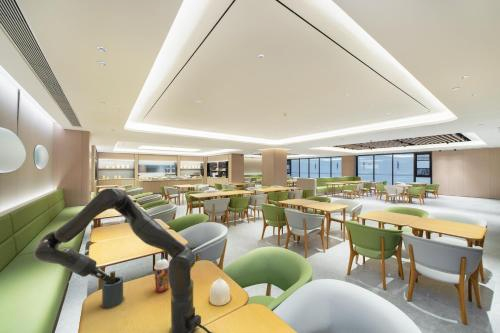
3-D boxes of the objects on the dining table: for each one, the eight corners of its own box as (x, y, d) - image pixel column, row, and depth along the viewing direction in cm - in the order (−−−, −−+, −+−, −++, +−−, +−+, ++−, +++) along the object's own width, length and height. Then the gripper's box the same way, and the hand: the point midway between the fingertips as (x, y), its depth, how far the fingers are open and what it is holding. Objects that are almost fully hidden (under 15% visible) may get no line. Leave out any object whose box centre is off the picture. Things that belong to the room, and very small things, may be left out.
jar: (126, 300, 111) (126, 279, 111) (107, 310, 103) (107, 287, 103) (118, 295, 116) (117, 274, 116) (99, 303, 108) (99, 282, 109)
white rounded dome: (233, 301, 110) (233, 278, 110) (213, 308, 105) (213, 283, 105) (225, 290, 120) (225, 269, 120) (206, 296, 115) (206, 273, 115)
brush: (119, 300, 110) (119, 271, 110) (109, 305, 106) (109, 275, 106) (115, 297, 113) (115, 269, 113) (105, 302, 109) (105, 272, 109)
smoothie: (164, 294, 116) (164, 258, 116) (150, 292, 118) (150, 256, 118) (172, 286, 124) (172, 252, 124) (160, 284, 126) (160, 251, 126)
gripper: (94, 260, 97) (121, 275, 106) (82, 253, 105) (108, 267, 114) (80, 277, 93) (109, 290, 102) (68, 268, 101) (96, 281, 110)
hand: (108, 278), depth 108 cm, fingers open, 8 cm apart
